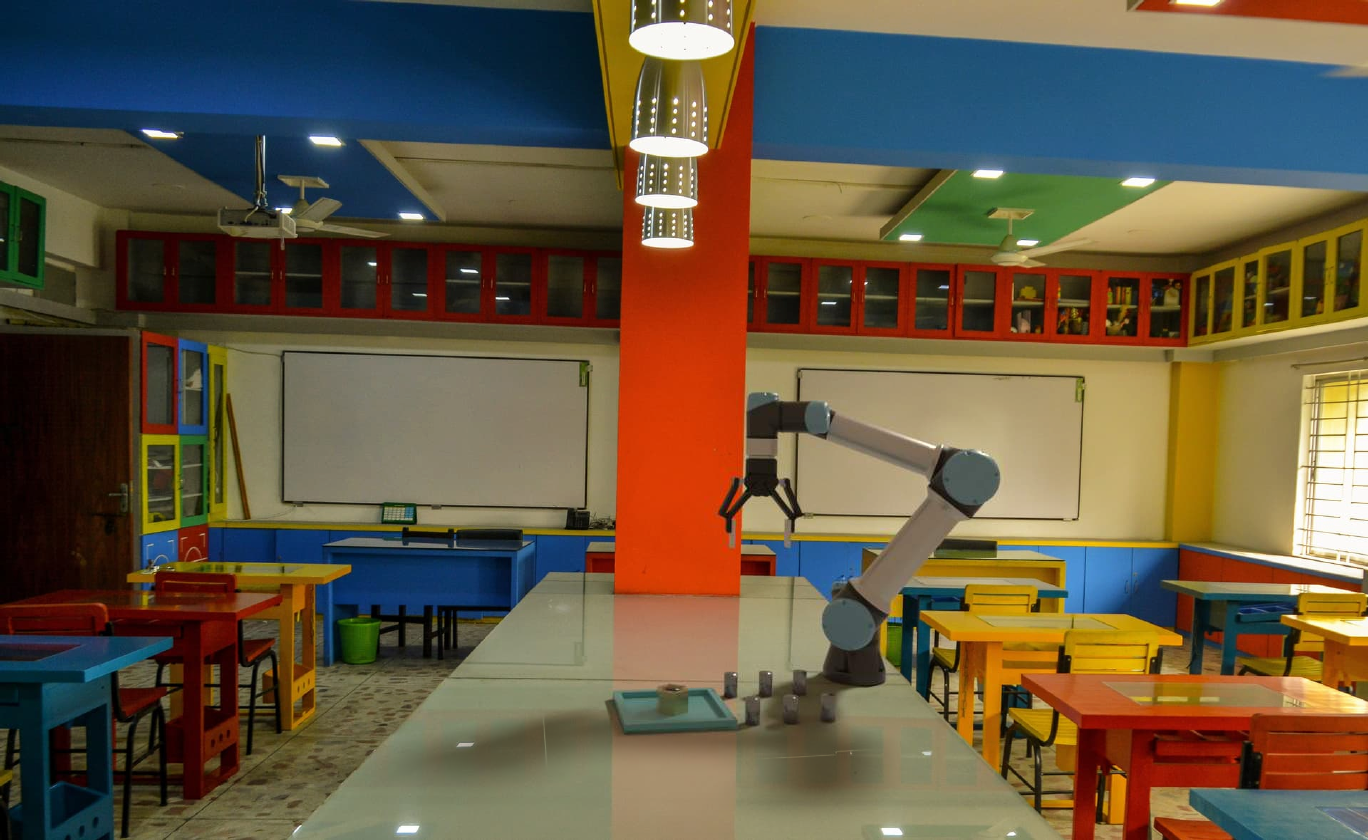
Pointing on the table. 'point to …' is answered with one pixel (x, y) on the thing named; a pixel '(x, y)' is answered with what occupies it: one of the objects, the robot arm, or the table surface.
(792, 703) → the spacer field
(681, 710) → the nut
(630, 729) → the tray
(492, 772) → the table surface
